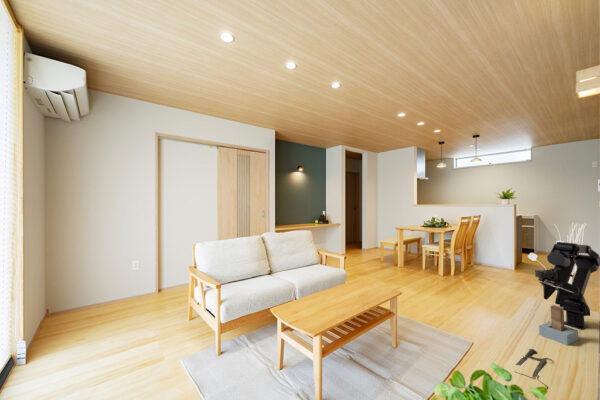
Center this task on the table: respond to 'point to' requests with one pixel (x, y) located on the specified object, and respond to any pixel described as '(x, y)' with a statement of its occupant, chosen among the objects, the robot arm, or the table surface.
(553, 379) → the table surface
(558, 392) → the table surface
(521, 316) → the table surface
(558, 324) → the tan rectangular block
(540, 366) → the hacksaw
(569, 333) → the holder
